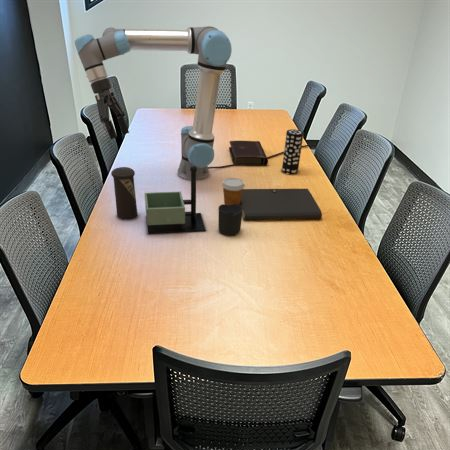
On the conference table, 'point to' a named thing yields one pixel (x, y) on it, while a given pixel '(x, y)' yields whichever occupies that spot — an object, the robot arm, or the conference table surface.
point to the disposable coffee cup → (232, 190)
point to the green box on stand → (173, 211)
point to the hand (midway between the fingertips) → (120, 136)
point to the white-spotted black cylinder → (292, 151)
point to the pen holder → (230, 219)
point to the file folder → (279, 204)
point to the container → (125, 193)
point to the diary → (248, 153)
